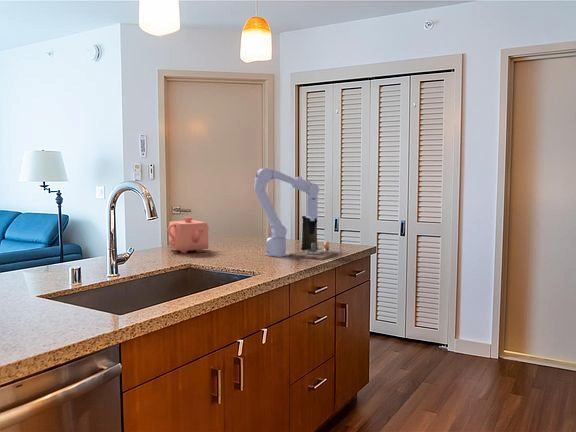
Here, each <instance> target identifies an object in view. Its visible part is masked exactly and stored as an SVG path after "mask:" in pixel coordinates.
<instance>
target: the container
mask: <svg viewBox="0 0 576 432" xmlns="http://www.w3.org/2000/svg"><path fill="white" fill-rule="evenodd" d="M301 219H302V224H301V225H302V226H301V227H302V229H301V231H302V232H301V233H302V234H301V236H302V238H301V247H300V249H301V250H300V251H304V250H311V243H316V250H319V245H318V222H317V223H316V226H315V231H314V234H309V229H308V224H307V222H306V220H309V218H306V215H302V217H301ZM314 220H317V221H318V218H315V219H314Z"/></svg>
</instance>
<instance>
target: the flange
mask: <svg viewBox="0 0 576 432" xmlns="http://www.w3.org/2000/svg"><path fill="white" fill-rule="evenodd" d="M323 247H324V248H323V249H318V250H316V251H315V252H313V251H311V250H306V251H305V253H307V254H321V253H329V252H331V250H330V242H329V241H324V244H323Z"/></svg>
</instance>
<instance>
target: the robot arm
mask: <svg viewBox="0 0 576 432" xmlns="http://www.w3.org/2000/svg"><path fill="white" fill-rule="evenodd" d="M271 180H279V181H282V182H285V183H288V184H290V185H291V186H292V188H293V189H296V190H298V191H301V192H304V193H306V195H305V196H306V197H305V198H306V199H305V201H306V203H305V216H306V218H309V220H306V222H307V224H308V229H309V234H314V231H315V226H316V223H317V224H318V218H321V217H320V216H321V215H318V206H319V205H318V194H319V192H320V187H319V185H318V184H317V183H314V182H311V180H307V179H304V178H303V177H302V176H296V177H292V176H289V175H288V174H286V173H283V172H281V171H278V170H275V169H270V168H267V167H264V168H263V167H262V168H261V167H260V169H259V168H258V170H257V172H256V174H255V176H254V186H253V190H254V192H255V194H256V197H257V199H258V201H259V204H260V206H261V207H262V209H263V212H264V213H265V216H266V218H267V220H268V223H269V226H270V232H271V236H269V237H268V238H267V239H266V242H265V254H264V256H269V257H277V258H282V257H286V256H289V254H290V253H286V251H287V250H286V249H287V248H286V247H287V243H286V242H287V239H286V238H287V237H286V236H287V228H286V226H285V225H284V224H282V221H281V220H280V219H279V218H280V217H279V216H278V215H277V212H276V211H275V208H274V206H273V204H272V202H271V200H270V198H269V195H268V193H267V191H266V187H267V185H268V183H269V182H270V181H271ZM315 218H317V220H314V219H315Z"/></svg>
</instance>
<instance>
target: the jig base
mask: <svg viewBox="0 0 576 432" xmlns="http://www.w3.org/2000/svg"><path fill="white" fill-rule="evenodd" d="M305 251H306V250H299V251H297V252H293V253H288V254H289V255H288V257H289V258H296V259H297V258H298V259H306V260H317V261H323V260H327V259H329V258H333V257H336V256H338V255H339V252H335V251H330V252H329V253H321V254H307V253H305ZM311 251H313V252H315V251H316V243H311Z"/></svg>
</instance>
